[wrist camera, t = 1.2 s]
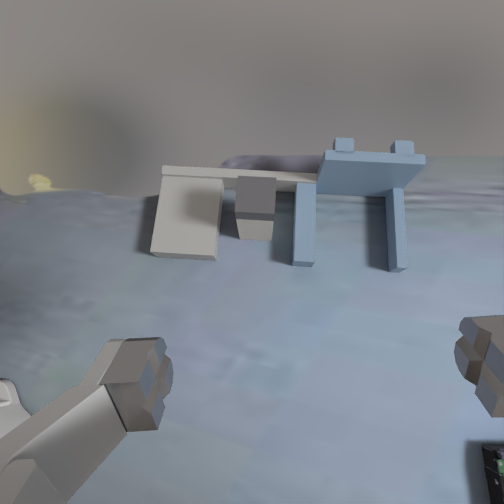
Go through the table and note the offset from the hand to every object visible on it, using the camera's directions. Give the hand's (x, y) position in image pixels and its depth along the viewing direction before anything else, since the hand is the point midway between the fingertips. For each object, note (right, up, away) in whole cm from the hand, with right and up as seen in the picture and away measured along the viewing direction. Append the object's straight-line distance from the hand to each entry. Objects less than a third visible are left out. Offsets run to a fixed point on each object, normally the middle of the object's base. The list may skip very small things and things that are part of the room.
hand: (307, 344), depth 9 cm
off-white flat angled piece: (-3, +7, +32) cm, 33 cm away
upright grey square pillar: (-1, +6, +32) cm, 32 cm away
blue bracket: (+10, +7, +32) cm, 34 cm away
